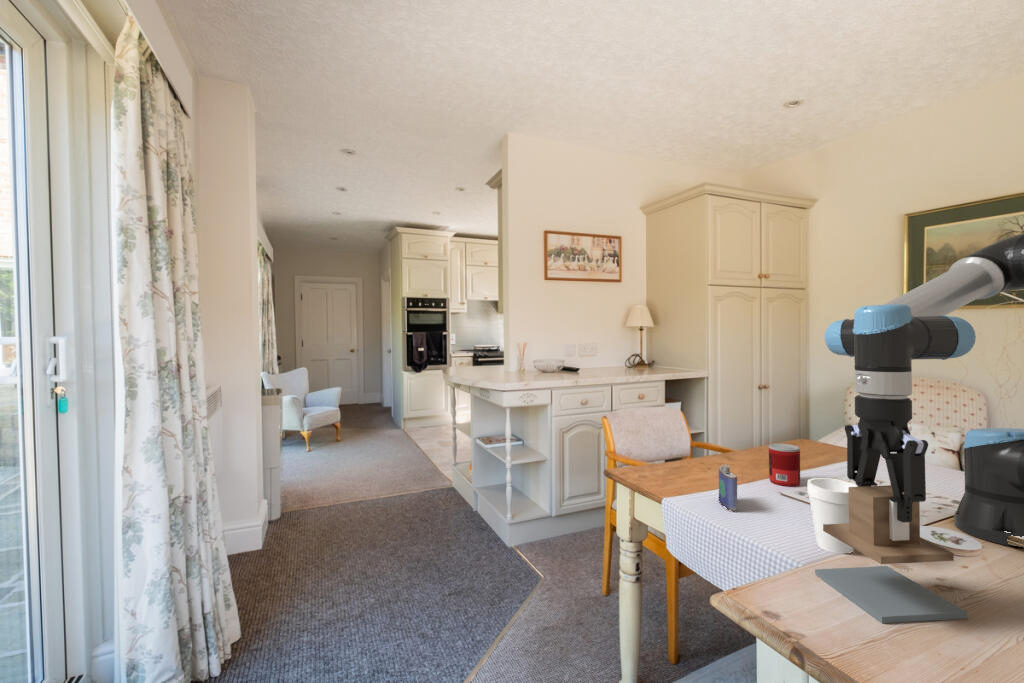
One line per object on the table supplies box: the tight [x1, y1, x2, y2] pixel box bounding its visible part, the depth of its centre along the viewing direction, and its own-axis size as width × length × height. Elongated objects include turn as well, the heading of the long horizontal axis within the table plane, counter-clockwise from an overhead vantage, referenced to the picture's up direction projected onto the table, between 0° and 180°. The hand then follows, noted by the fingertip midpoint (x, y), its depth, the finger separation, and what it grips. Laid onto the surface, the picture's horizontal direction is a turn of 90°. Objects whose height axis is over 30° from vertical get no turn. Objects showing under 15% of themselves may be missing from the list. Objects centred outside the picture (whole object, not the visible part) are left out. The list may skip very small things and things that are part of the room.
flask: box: [718, 464, 739, 512], centre depth 116 cm, size 9×3×11 cm, turn 172°
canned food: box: [768, 443, 801, 488], centre depth 133 cm, size 8×8×11 cm
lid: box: [823, 484, 955, 565], centre depth 75 cm, size 12×12×9 cm
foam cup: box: [806, 477, 858, 555], centre depth 93 cm, size 10×9×13 cm
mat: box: [814, 565, 969, 624], centre depth 76 cm, size 14×14×1 cm
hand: (883, 531), depth 76 cm, fingers closed on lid, 5 cm apart
